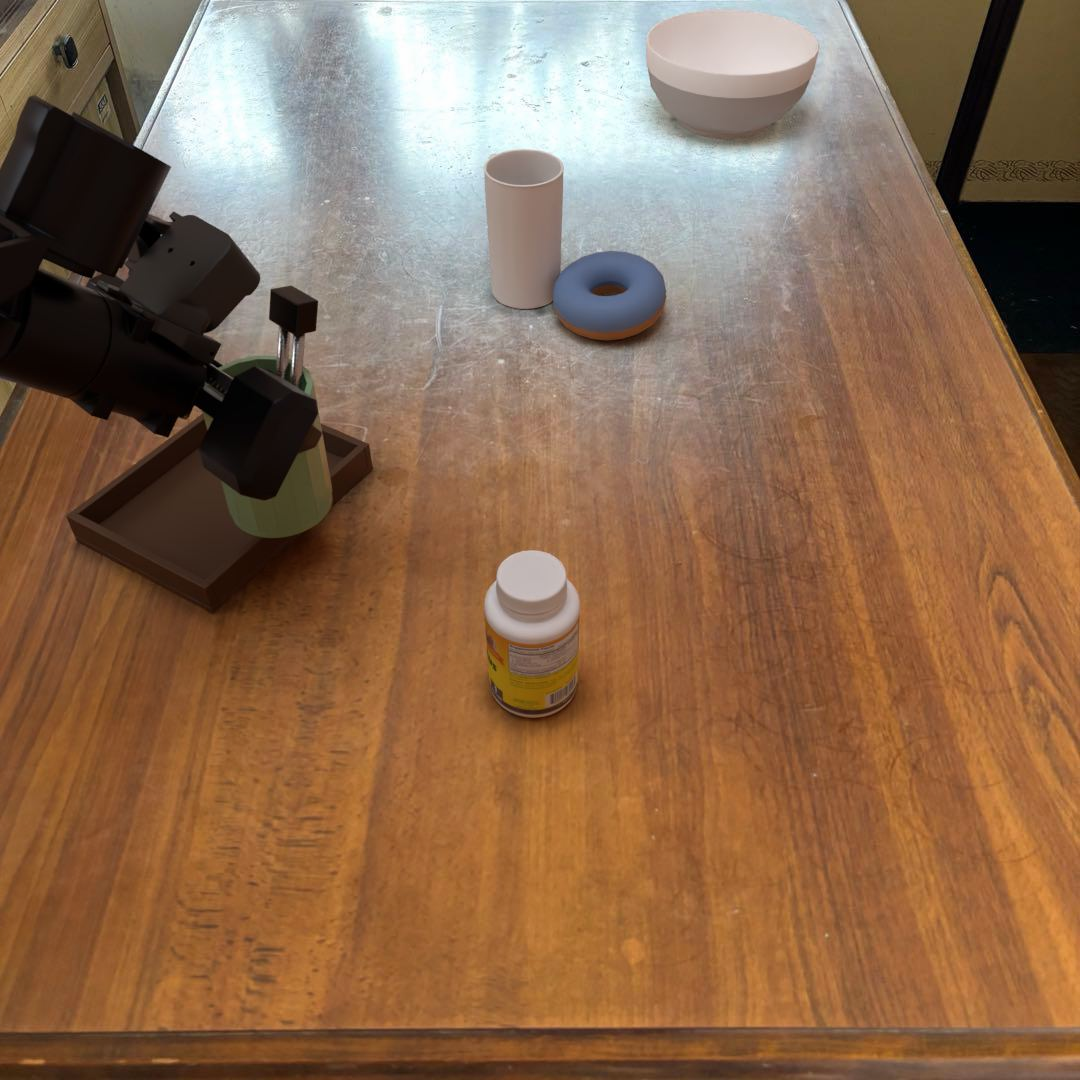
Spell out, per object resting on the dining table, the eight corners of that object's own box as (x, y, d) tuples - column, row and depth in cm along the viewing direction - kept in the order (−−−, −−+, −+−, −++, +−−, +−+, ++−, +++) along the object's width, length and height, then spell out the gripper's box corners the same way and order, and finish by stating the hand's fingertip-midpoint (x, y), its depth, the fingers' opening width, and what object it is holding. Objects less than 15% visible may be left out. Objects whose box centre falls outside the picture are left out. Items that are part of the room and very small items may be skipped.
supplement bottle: (496, 647, 71) (490, 534, 64) (582, 656, 71) (586, 543, 63) (481, 717, 67) (474, 606, 60) (572, 727, 67) (575, 615, 59)
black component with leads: (289, 506, 73) (263, 319, 63) (265, 488, 74) (235, 303, 64) (337, 480, 75) (318, 295, 65) (312, 463, 76) (290, 280, 67)
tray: (213, 614, 73) (205, 588, 72) (76, 540, 78) (65, 515, 76) (373, 468, 84) (369, 443, 82) (243, 412, 89) (236, 387, 87)
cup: (295, 550, 70) (270, 434, 64) (208, 520, 72) (175, 404, 66) (351, 486, 75) (333, 371, 68) (268, 459, 77) (242, 345, 70)
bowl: (724, 172, 118) (734, 90, 111) (607, 113, 128) (610, 36, 122) (840, 123, 126) (855, 44, 120) (722, 71, 136) (730, -3, 130)
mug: (576, 298, 100) (579, 173, 92) (511, 319, 98) (508, 193, 89) (521, 249, 106) (519, 128, 98) (460, 267, 104) (452, 145, 96)
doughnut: (562, 354, 94) (562, 308, 91) (544, 291, 101) (544, 246, 98) (676, 344, 95) (680, 298, 92) (650, 282, 102) (654, 238, 99)
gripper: (256, 264, 51) (443, 360, 64) (45, 142, 60) (248, 249, 73) (150, 476, 52) (356, 526, 66) (-40, 326, 61) (175, 397, 75)
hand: (281, 414), depth 70 cm, fingers closed on cup, 7 cm apart
